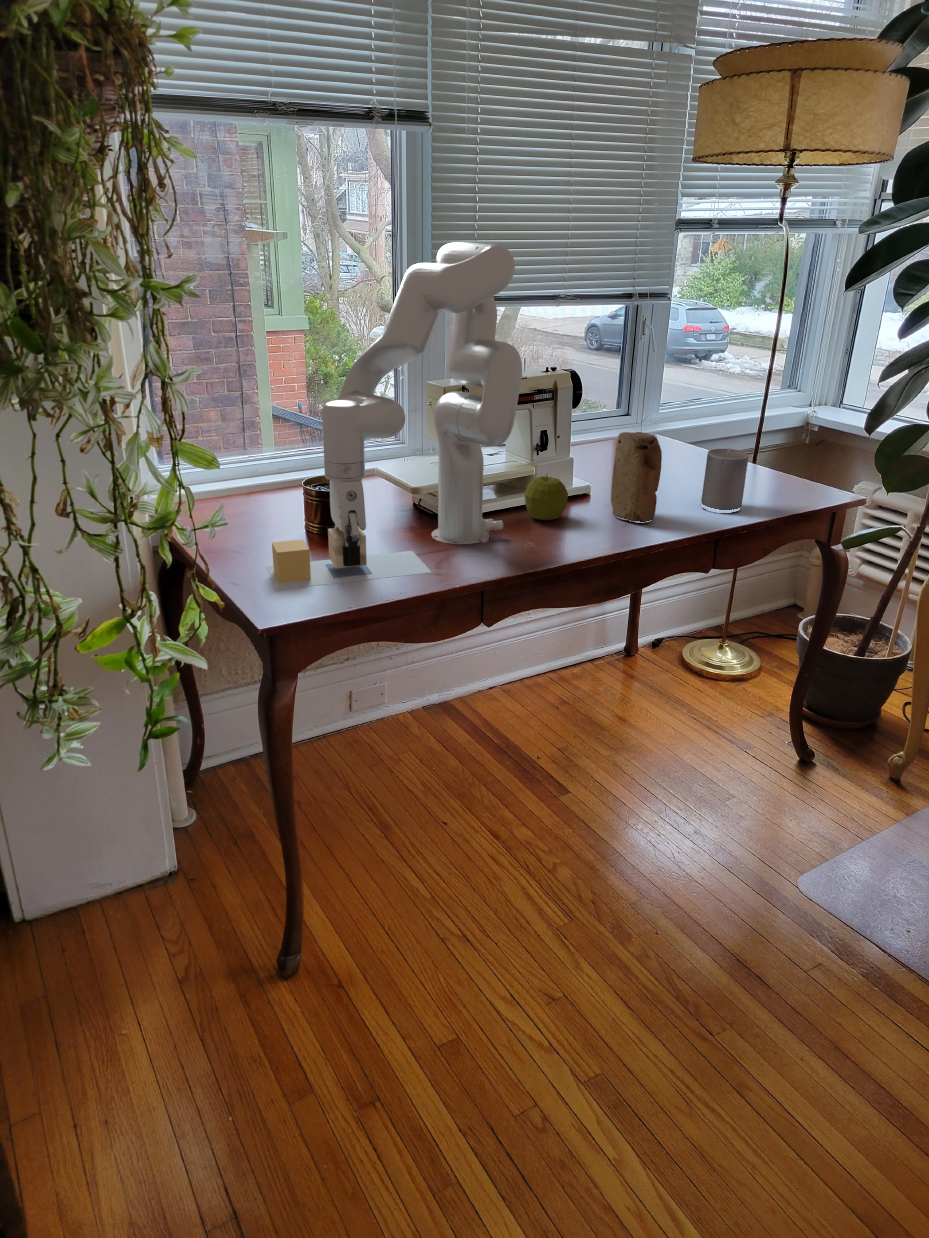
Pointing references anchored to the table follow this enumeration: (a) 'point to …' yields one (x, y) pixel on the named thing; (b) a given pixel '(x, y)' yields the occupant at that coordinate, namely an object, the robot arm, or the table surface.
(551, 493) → the apple
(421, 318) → the robot arm
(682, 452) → the table surface
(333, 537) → the maple cube
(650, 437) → the block
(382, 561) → the board
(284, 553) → the ochre cube
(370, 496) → the table surface
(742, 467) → the pillar candle
